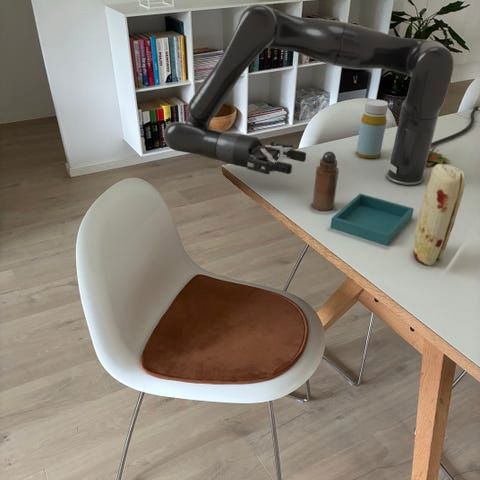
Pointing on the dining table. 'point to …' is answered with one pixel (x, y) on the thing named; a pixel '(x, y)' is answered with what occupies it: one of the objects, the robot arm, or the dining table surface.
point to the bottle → (372, 129)
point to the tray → (372, 219)
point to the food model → (438, 213)
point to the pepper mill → (325, 183)
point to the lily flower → (435, 157)
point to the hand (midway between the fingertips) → (298, 163)
